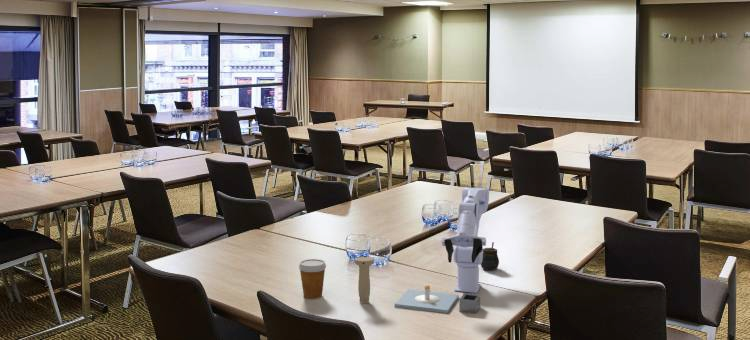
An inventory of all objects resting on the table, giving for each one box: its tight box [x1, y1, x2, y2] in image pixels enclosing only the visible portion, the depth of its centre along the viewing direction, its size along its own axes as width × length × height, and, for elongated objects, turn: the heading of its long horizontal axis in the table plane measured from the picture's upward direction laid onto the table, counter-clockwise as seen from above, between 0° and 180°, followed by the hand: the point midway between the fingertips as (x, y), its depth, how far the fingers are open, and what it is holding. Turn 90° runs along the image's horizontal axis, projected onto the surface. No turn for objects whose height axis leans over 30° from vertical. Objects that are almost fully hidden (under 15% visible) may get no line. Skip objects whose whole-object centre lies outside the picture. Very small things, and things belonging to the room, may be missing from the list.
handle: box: [354, 256, 375, 304], centre depth 235 cm, size 5×6×15 cm
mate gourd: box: [480, 241, 500, 272], centre depth 273 cm, size 7×8×10 cm
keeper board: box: [394, 284, 460, 314], centre depth 235 cm, size 16×18×6 cm
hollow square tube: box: [458, 293, 481, 314], centre depth 229 cm, size 6×6×4 cm
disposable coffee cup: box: [298, 258, 327, 300], centre depth 241 cm, size 10×10×12 cm
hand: (461, 260), depth 226 cm, fingers open, 7 cm apart
